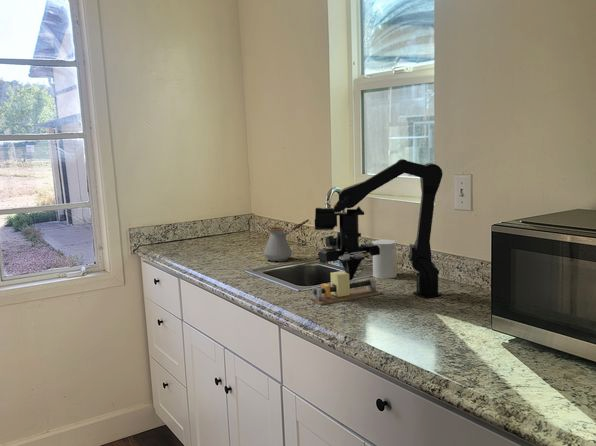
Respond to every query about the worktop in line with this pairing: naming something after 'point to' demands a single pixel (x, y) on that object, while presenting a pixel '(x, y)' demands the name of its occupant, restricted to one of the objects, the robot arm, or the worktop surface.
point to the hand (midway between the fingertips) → (350, 279)
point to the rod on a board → (354, 294)
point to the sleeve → (340, 283)
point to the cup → (385, 260)
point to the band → (326, 290)
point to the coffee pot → (279, 244)
